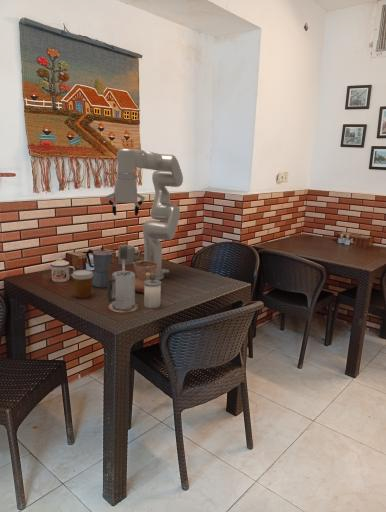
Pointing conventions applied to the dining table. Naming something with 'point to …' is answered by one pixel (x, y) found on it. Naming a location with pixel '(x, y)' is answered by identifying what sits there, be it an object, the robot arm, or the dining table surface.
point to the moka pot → (100, 266)
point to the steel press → (122, 290)
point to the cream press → (152, 292)
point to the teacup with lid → (60, 270)
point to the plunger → (123, 256)
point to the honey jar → (82, 283)
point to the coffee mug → (128, 255)
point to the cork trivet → (123, 311)
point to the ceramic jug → (143, 273)
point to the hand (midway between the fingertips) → (125, 215)
